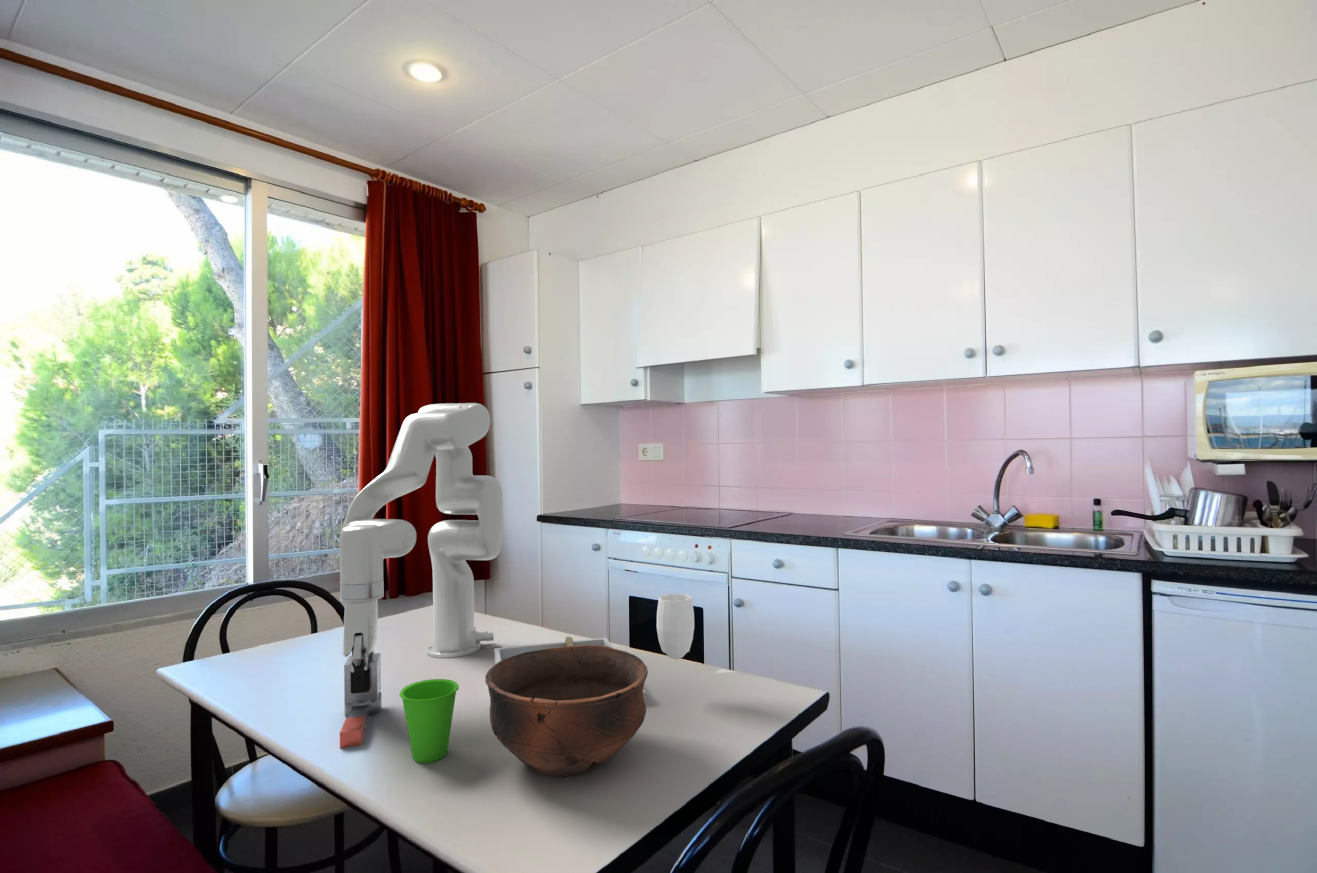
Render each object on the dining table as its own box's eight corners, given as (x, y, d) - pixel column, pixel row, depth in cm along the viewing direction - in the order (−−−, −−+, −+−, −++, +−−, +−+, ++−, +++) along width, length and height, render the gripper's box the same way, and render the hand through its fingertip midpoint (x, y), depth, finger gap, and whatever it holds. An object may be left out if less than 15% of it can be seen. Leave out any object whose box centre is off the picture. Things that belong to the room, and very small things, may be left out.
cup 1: (425, 776, 101) (425, 704, 101) (388, 761, 106) (387, 692, 106) (471, 752, 109) (470, 685, 109) (434, 739, 114) (433, 675, 114)
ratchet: (347, 707, 128) (347, 676, 128) (383, 703, 130) (383, 672, 130) (329, 749, 111) (328, 713, 111) (371, 744, 113) (370, 708, 113)
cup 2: (697, 713, 123) (696, 601, 123) (658, 715, 123) (657, 602, 123) (693, 698, 131) (692, 592, 131) (656, 699, 130) (655, 593, 130)
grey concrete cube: (349, 692, 128) (349, 655, 128) (380, 689, 130) (380, 653, 130) (344, 703, 123) (344, 665, 123) (377, 699, 124) (377, 662, 124)
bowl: (503, 824, 89) (501, 710, 89) (475, 746, 111) (474, 655, 111) (673, 783, 99) (672, 681, 99) (616, 719, 121) (615, 636, 121)
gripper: (348, 582, 133) (349, 672, 133) (331, 602, 117) (332, 705, 117) (388, 580, 136) (389, 668, 136) (377, 599, 119) (379, 700, 119)
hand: (363, 684), depth 126 cm, fingers open, 6 cm apart
